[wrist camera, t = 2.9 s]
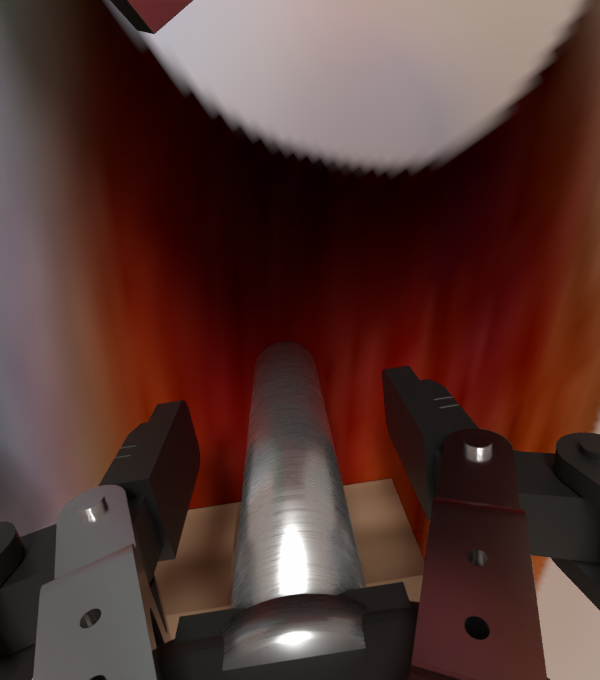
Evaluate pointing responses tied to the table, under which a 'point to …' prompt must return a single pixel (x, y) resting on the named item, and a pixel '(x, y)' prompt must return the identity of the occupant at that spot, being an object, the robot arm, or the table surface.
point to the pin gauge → (292, 525)
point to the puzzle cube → (150, 12)
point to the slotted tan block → (221, 542)
